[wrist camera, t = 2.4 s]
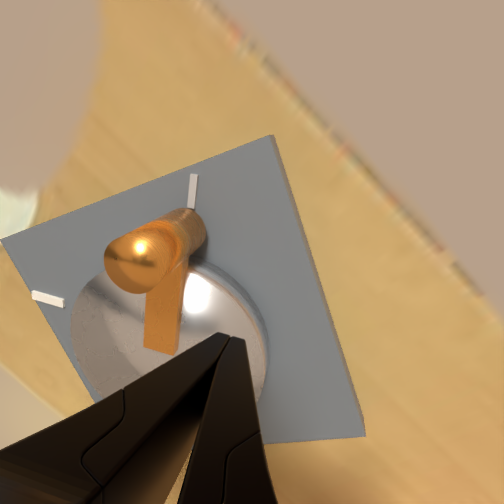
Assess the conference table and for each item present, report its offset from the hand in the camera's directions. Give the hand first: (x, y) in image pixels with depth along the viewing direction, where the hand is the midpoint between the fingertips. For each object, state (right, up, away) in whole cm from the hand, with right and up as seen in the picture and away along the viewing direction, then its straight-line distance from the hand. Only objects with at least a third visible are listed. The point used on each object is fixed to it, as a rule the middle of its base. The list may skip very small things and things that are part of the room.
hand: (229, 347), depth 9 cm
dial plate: (-4, -2, +13) cm, 14 cm away
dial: (-4, -2, +11) cm, 12 cm away
